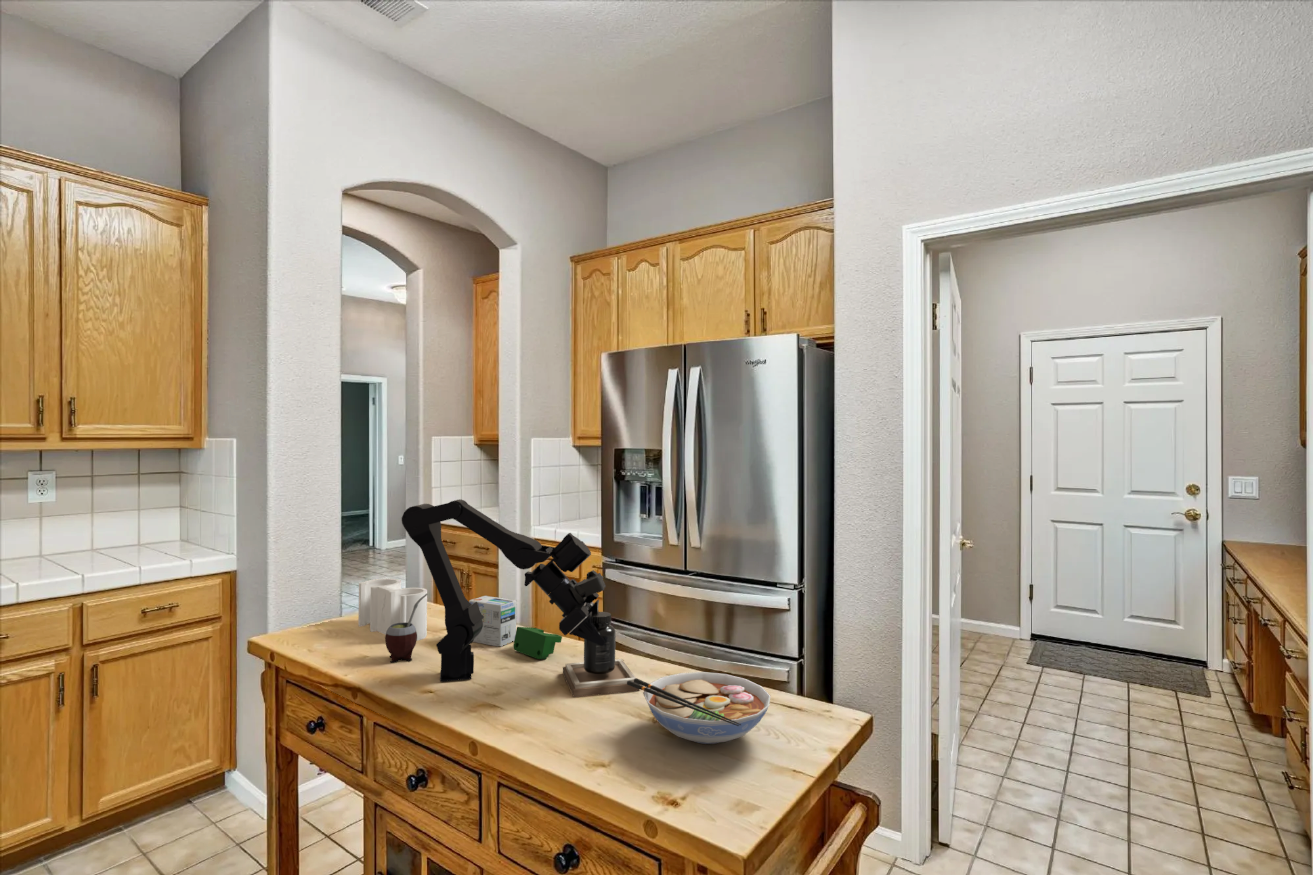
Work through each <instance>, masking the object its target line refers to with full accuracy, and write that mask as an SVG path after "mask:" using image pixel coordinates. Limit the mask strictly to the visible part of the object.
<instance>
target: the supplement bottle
mask: <svg viewBox="0 0 1313 875" xmlns="http://www.w3.org/2000/svg"><path fill="white" fill-rule="evenodd" d="M592 623H593V624H594V626H595V627H596V628H597V630H598V631H599V633H600V634H601V636H602V637H603V639H604V640H605V644H604V645H603V646H600V645H598V644H595V643H593V642H590V641H588V640H585V639H583V662H584V669H585V671H586V672H588V673H592V674H606V673H609V672H612V671H613V670H614V668H615V660H616V635H617V634H616V629H615V627H614V626H613V625H611V624H612V613H610V612H607V611H599V612H593V613H592Z"/></svg>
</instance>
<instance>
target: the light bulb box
mask: <svg viewBox="0 0 1313 875" xmlns="http://www.w3.org/2000/svg"><path fill="white" fill-rule="evenodd" d="M469 602H470V603H471V604H473V603H475V602H477V603H478V605H479V610H480V612H481V614H482V615H483V616H484V618H483V619H482V621H483V627H482V630H481V632H480V633H479V634H478V635H477V636H476V637H475V638H474V641H473V642H472V643H477V644H478V643H479V644H483V645H487V646H494V647H498V646H501V647H503V645H504V646H506V645H508V644H510V643H513V642H514V640H515V635H516V630H517V599H511V598H505V597H504V598H502V597H496V596H495V597H494V596H489V595H482V596H480V597H477V598H472V599H469ZM512 641H513V642H512ZM507 643H508V644H507Z"/></svg>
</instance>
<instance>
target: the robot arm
mask: <svg viewBox="0 0 1313 875" xmlns="http://www.w3.org/2000/svg"><path fill="white" fill-rule="evenodd" d="M448 520H449V521H450V520H454V521H456V522H458V523H460V524H461V525H463V526H464V527H466V528H467V529H469V530H471V531H472V532H473V533H475V534H476V535H478V536H479V537H481V538H483V539H484V540H486V541H487V542H489V543H491V544H493V545H494V546H496V547H497V548H498V549H499V550H500V551H501V553H502V555H504V557H505V558H506V559H507V560H508V561H509V562H510V563H511V564H512V565H513V566H515V567H516V568H517V569H519V570H528V569H531V568H532V567H533V566H536V565H537V564H538V565H537V566H536V567H535V568H534V569H533V570H532V571H526V572H525V573H524V586H525V587H528V586H529V585H531V583H532V582H534V583H535V584H536V585H537V586H538V587H539V588H540V589H541V590H542V592H544V593H545V595H546V596H547V597H548V598H549V599H550V600H549V601H548V602H549V603H550V604H551V605H553V604H554V605H556V607H557V608H558V609H559V610H560V611H561V612H562V614H561V616H562V618H561V620H560V621H559V623H558V625H559V626H558V630H559V631H560V632H561V633H562V634H563V635H564V636H565V637H567V635H568V634H569V635H570V636H571V635H572V636H574V637H578V638H581V639H583V640H584V639H585V640H588V641H590V642H593V643H595V644H598V645H600V646H603V645H604V644H605V640H604V639H603V637H602V636H601V634H600V633H599V631H598V630H597V628H596V627H595V626H594V624H593V623H592V613H593V612H600V611H599V607H600V606H599V603H600V600H599V599H598V598H599V596H600V595H599V594H598V593H601V592H603V591H605V588H606V587H607V586H606V583H605V580H604V576H603V575H602V574H601V573H600V572H599V573H597V571H596V570H590V571H588V572H587V573H586V578H584V579H583V580H581V581H579V582H578V581H576V579H573V578H571V579H570V578H568V576H567V575H566V574H565V573H567V572H569V573H573V572H574V571H575V570H576V569H578V568H579V566H581V565H582V563H584V562H585V561H586V560H587V559H588V558H589V557H591V555H592V551H591V550H590V548H589V547H588V546H587V545H586V544H585V542H584V541H582V540H581V539H579V538H578V537H577V536H574V535H573V533H572V532H568V533H567V534H566V535H565V536H564V537H563V538H562V539H561V541H559V542H558V544H556V546H550V545H543V544H542V543H541V542H540V541H539V540H537V539H534V538H532V537H530V536H527V535H524V534H521V533H518V532H514V531H512V530H510V529H508V528H507V527H505V526H503V525H502V524H500V523H499V522H497V521H495V520H494V519H492V518H491V517H489V516H487V514H484V513H483V512H481V511H479V510H478V509H476V508H475V507H473V506H471V505H470V504H469V503H468V502H467V501H466V500H464V499H461V498H460V499H455V500H451V501H449V502H446V503H442V504H438V505H432V504H430V503H422V504H418V505H413V506H409V507H408V508H407V509H406V510H404V512H403V514H402V517H401V524H402V526H403V528H404V529H405V531H406V533H407V535H408V536H409V538H410V539H411V540H412V541H413V542H414V543H415V544H416V545H417V546H418V547H419V548H420V550H421V553H422V555H423V557H424V559H425V562H426V565H427V567H428V570H429V572H430V575H431V576H432V579H433V581H434V584H435V586H436V587H435V588H436V589H437V592H438V594H439V597H440V600H441V602H442V604H443V607H444V625H445V629H446V630H445V631H446V633H447V634H446V635H445V636H443V637H442V638H441V639H440V640H439V641H438V642H437V643H436V649H437V651H438V652H437V653H438V654H440V656H441V657H440V673H439V674H440V675H439V682H441V683H444V682H455V681H467V680H469V681H470V680H472V675H473V674H474V671H475V670H474V669H475V668H474V667H475V666H474V664H475V660H474V659H475V653H474V651H472V645H471V644H472V643H474V642H473V641H474V638H475V637H476V636H477V635H478V634H479V633H480V632H481V630H482V627H483V621H482V619H483V618H484V616H483V615H482V614H481V612H480V610H479V605H478V603H477V602H475V603H473V604H471V603H470V602H469V601H468V599H467V598H466V597H465V594H464V592H463V589H462V586H461V585H460V582H459V579H458V577H457V575H456V572H455V569H454V567H453V565H452V562H451V559H450V558H449V555H448V553H447V551H446V548H445V546H444V543H443V540H442V522H444V521H448ZM551 557H552V559H550V558H551ZM548 559H550V561H549V562H547V564H544V562H546V561H547V560H548ZM594 601H595V602H594Z"/></svg>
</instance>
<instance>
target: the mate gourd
mask: <svg viewBox="0 0 1313 875" xmlns="http://www.w3.org/2000/svg"><path fill="white" fill-rule="evenodd" d="M425 596H427V597H428V593H427V594H425V595H424V596H423V597H422V598H420V599H419V600H418V601H417V602H416V603H415V605H414V609H413V611H412V614H411V617H410V619H409V622H408V623H396V624H392V625H391V626H390V627H389V628H388V629H387V631H386V635H385V634H384V641H385V645H386V646H385V647H386V649H387V652H388V653H389V654H390V655H389V659H391V660H390V661H389V663H390V664H395V663H397V662H399V661H404V662H413V658H412V655H413V651H414V649H415V647H416V644H417V632H416V628H415V626H414V625H413V624H412V623H411V621H412V618H413V615H414V613H415V610H416V608H417V606H418V603H419V602H420V601H421V600H422V599H423V598H424V597H425Z"/></svg>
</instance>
